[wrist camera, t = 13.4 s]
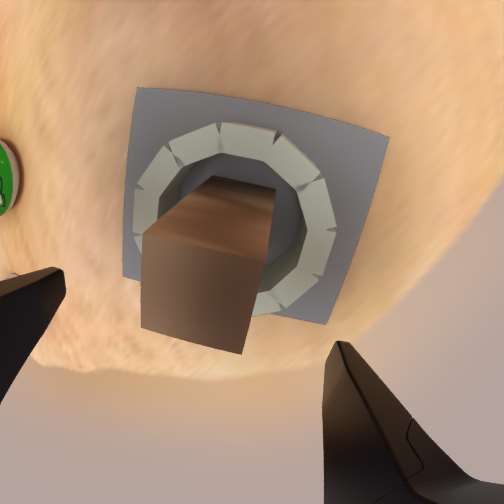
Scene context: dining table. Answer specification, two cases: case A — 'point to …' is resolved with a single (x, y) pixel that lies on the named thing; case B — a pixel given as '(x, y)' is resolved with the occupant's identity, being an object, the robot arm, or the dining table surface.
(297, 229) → the collar holder
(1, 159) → the green tin can
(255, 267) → the walnut peg
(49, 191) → the dining table surface
